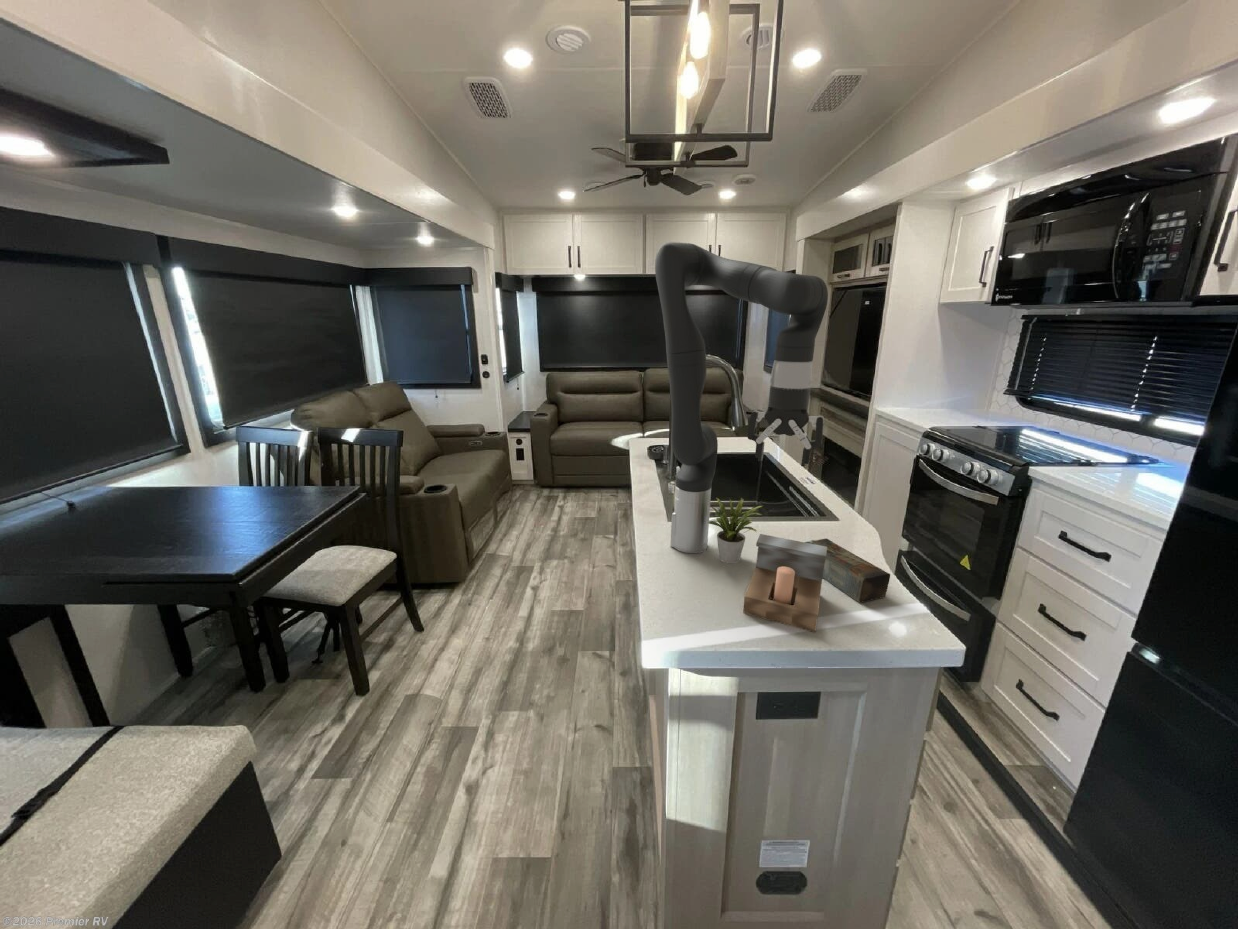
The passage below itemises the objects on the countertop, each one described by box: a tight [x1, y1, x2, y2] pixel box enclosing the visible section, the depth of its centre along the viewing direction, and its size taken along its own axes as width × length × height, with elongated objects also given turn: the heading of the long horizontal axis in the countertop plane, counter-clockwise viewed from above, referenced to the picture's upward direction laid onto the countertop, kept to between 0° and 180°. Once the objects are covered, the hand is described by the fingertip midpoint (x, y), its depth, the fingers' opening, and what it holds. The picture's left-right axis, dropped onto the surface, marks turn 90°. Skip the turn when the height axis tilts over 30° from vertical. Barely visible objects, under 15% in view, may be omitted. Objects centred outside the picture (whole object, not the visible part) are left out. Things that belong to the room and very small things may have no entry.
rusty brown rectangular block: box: [805, 538, 891, 603], centre depth 106 cm, size 8×19×7 cm, turn 20°
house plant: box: [708, 497, 763, 564], centre depth 113 cm, size 14×14×16 cm
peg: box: [772, 566, 795, 605], centre depth 93 cm, size 3×3×10 cm
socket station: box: [742, 533, 827, 633], centre depth 96 cm, size 14×14×12 cm
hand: (781, 462), depth 94 cm, fingers open, 8 cm apart
